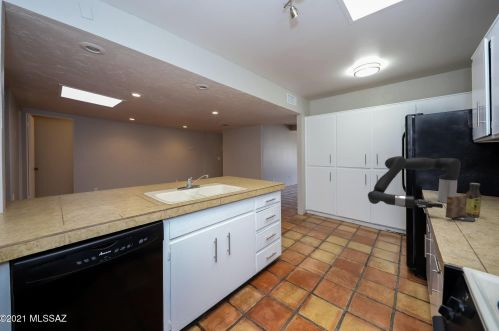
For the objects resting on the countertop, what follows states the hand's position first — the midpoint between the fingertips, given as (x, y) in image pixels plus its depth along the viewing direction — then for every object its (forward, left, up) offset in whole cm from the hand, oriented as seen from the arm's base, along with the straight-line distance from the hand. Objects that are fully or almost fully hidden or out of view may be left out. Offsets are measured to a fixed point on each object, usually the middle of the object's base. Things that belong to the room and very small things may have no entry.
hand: (442, 206), depth 109 cm
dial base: (-6, +8, -7) cm, 13 cm away
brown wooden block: (-2, +6, -6) cm, 8 cm away
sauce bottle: (-16, +14, -8) cm, 23 cm away
